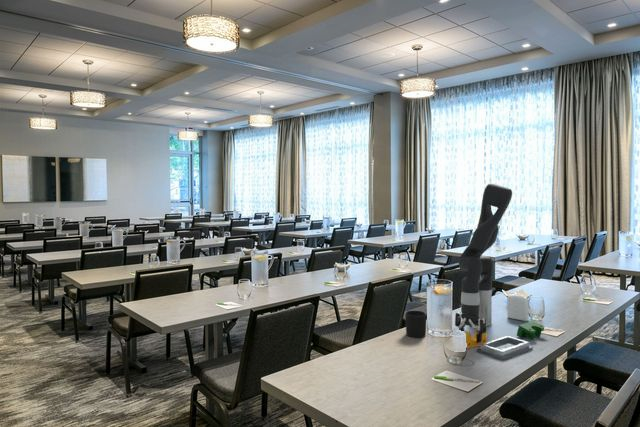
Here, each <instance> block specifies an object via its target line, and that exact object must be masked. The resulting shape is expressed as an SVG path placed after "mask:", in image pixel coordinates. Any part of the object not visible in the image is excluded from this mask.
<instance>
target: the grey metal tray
mask: <svg viewBox="0 0 640 427" xmlns="http://www.w3.org/2000/svg"><path fill="white" fill-rule="evenodd" d="M533 350H534V347H533V346H531V345H530V341H526V340H523V339H519V338H516V337H513V336H509V335H506V336H503V337H500V338H497V339H493V340H490V341H487V343H484V344H481V345H480V348H477V350H476V352H478V353H480V354H483V355H486V356H489V357H491V358H495V359H498V360H501V361H506V360H509V359H512V358H513V357H517V356H519V355H522V354H525V353H527V352H530V351H533Z"/></svg>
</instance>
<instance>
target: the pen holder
mask: <svg viewBox="0 0 640 427" xmlns="http://www.w3.org/2000/svg"><path fill="white" fill-rule="evenodd" d="M404 316H405V334H406V336H407V337H410V338H417V339H419V338H424V337H425V336H426V334H427V333H426V332H427V314H426V313H425V312H424V311H422V310H421V311H420V310H409V311H406V312H405V314H404Z"/></svg>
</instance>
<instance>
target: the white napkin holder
mask: <svg viewBox="0 0 640 427" xmlns="http://www.w3.org/2000/svg"><path fill="white" fill-rule="evenodd" d="M506 300H507V302H506V304H507V305H506V306H507V309H506V310H507V314H506V315H507V318H509V319H513V320H517V321H518V320H519V321H522V322H523V321H524V322H529V318H530V317H529V315H530V314H529V298H528V297H527V296H524V295H521V294H509V295H508V296H507V299H506Z"/></svg>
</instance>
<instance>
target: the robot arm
mask: <svg viewBox="0 0 640 427" xmlns="http://www.w3.org/2000/svg"><path fill="white" fill-rule="evenodd" d="M512 197H513V190H512V189H510V187H509V188H508V187H505V186H502V185H498V184H496V183H488V184H487V185H486V186H485V188H484V191H483V194H482V200H481V207H480V213H479V214H480V215H479V219H478V223H477V227H476V229H475V230H474V232H473V234H472V236H471V239H470V241H469V244H468V245H467V246H466V248H465V249H464V250H463V252H462V253H461V255H460V257H459V260H458V266H459V268H460V270H462V271H464V272H466V276H465V277H464V278H462V280H461V295H460V304H461V305H460V312H459V311H458V312H455V317H454V318H455V319H454V325H455V327H457V328H458V331H459V330H461V331H464V332H465V327H466V326H469V327H471V328H472V329H473V330H475V332H476V333H475V334H476V342H477V343H480V342H481V341H482V334H483V333H486V329H487V327H489V326H491V325H492V324H493V323H492V318H493V317H492V312H493V311H492V309H493V308H492V303H493V302H492V291H493V290H492V286H493V271H494V267H493V266H494V264H493V260H492V257H491V256H489V255H483V254H485V252H486V251H487V250H489V249H490V248H491V247H492V246H493V245H494V244H495V243H496V241H497V238H498V234H499V223H500V222H501V220H502V218H503V216H504V214H505V212H506V210H507V209H508V208H509V205H510V202H511V201H512ZM492 207H493V208H494V207H495V208H497V209H496V211H495V212H494V213H493V210H492ZM481 276H482V277H481Z"/></svg>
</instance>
